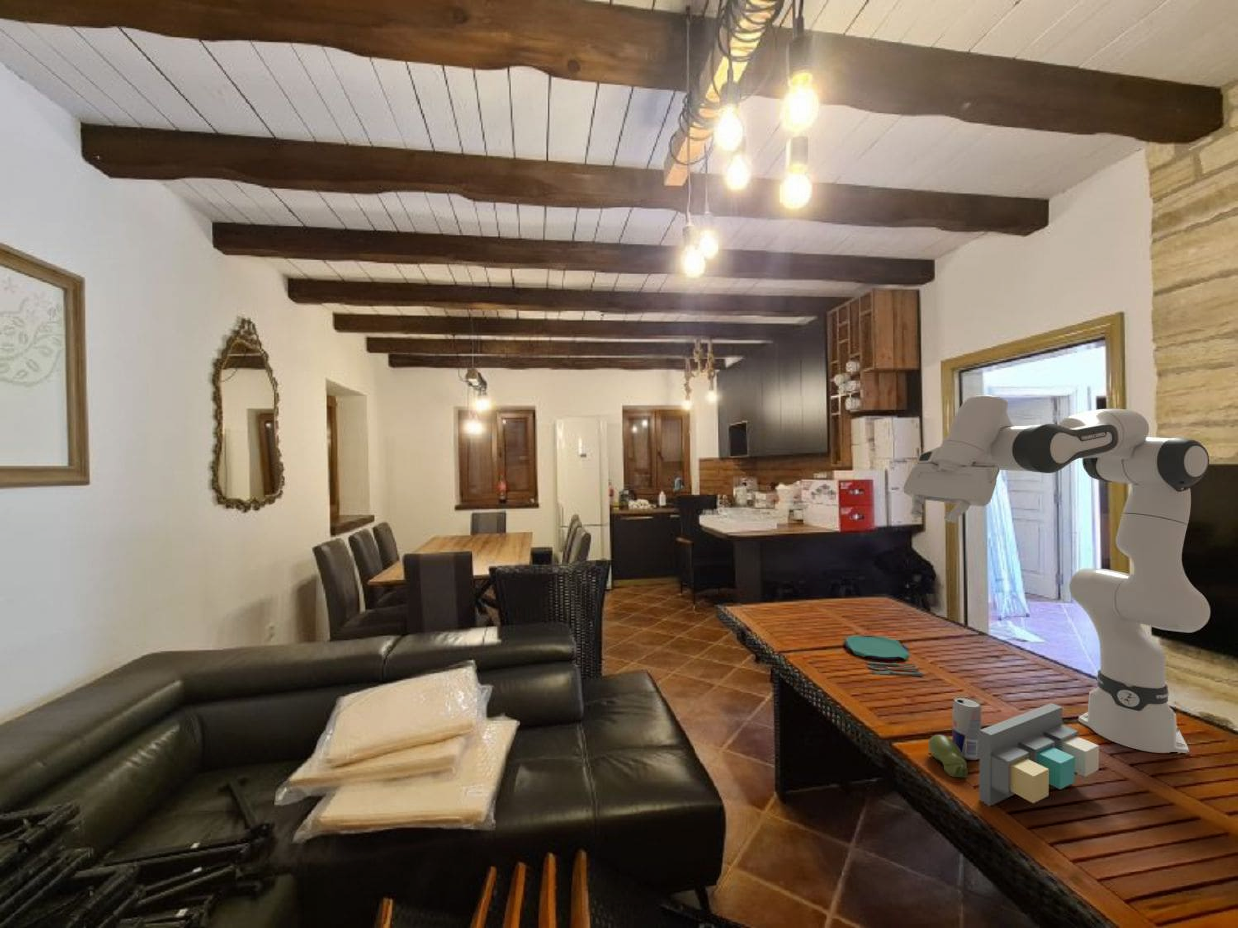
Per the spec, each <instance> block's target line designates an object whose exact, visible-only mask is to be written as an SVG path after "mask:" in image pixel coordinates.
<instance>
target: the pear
mask: <svg viewBox="0 0 1238 928" xmlns="http://www.w3.org/2000/svg"><path fill="white" fill-rule="evenodd" d="M928 749H929V752H930V753H931V756H932V757H933V758H935V759H936V760H937V761H939V762H941V763H942V765H943V770H944V772H945V773H946V774H947V775H949V776H950V777H951V776H952V777H953V778H961V779H962V778H963V779H965V778H968V775H969V769H968V768H967V766H968V764H967V762H966V759H964V758H962V754H961V751H960V749H959V747H958V746H957V745H956V744H955V743H954V742H953V739H951V738H950V737H949V736H946V735H944V734H935V735H932V737H930V739H929V741H928Z"/></svg>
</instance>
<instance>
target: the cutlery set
mask: <svg viewBox="0 0 1238 928" xmlns="http://www.w3.org/2000/svg"><path fill="white" fill-rule="evenodd" d="M844 645H845V647H846V648H847V649H848V650H849V651H852V652H853V654H854V655H856V656H859V657H862V658H865V657H866V658H867V657H868V658H872V659H878V660H880V659H881V660H896V659H897V660H898V659H903V660H904V662H905V661H907V660H908V659H909V658H910V657H911V656H910V650H909V648H908V647H907V646H905V645H904V644H903V643H901V642H900V641H899V640H896V639H892V638H889V637H886V636H875V635H859V634H858V635H856V634H853V635H850V636H848V637H845V638H844ZM865 663H866V665H868V668H870V669H872V670H871V673H872V674H873V675H885V676H890V675H899V676H906V677H907V676H909V677H911V676H914V677H915V676H916V677H917V676H918V677H924V673H923V672H919V671H920V669H919V668H918V667H916V665H915V664H901V663H897V662H893V663H892V662H890V663H887V662H875V661H873V662H871V661H868V662H865ZM888 666H890V667H888ZM894 666H895V667H894ZM899 666H904V667H899ZM878 668H880V669H878ZM893 670H904V671H914V672H901V671H900V672H899V671H893ZM915 671H916V672H915Z"/></svg>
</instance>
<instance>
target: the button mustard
mask: <svg viewBox="0 0 1238 928" xmlns="http://www.w3.org/2000/svg"><path fill="white" fill-rule="evenodd" d="M1049 788H1050V784H1049V769H1048V768H1046V767H1043V766H1041V765H1039V764H1037V763H1035V762H1033V761H1031V760H1029V759H1027V758H1023V759H1020V760H1018V761H1016V762H1014V763H1011V764H1010V791H1011V792H1013V793H1015V794H1014V795H1017V796H1019V797H1021V798H1023V799H1024V800H1026V801H1028V802H1030V803H1032V804H1035V803H1037V802H1039V801H1041V800H1043V799H1045V798H1047V797H1048V796H1050V795H1049V790H1050V789H1049Z"/></svg>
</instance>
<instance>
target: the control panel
mask: <svg viewBox="0 0 1238 928" xmlns="http://www.w3.org/2000/svg"><path fill="white" fill-rule="evenodd" d="M1062 723H1063V706H1060V705H1057V704H1055V703H1052V702H1050V703H1048V704H1045V705H1042V706H1040V707H1037V708H1035V709H1034V708H1033V709H1031V710H1029V711H1026V712H1024V713H1021V714H1018V715H1015V716H1013V717H1011V718H1007V719H1005V720H1003V721H1000V722H997V723H995V724H992V725H990V726H989V725H988V726H987V727H983V728H981V730H980V758H979V765H978V767H979V768H978V770H979V773H978V774H979V775H978V777H979V778H978V779H979V781H978V800H979V799H980V800H981V801H980V800H979V801H980V802H982V801H983V802H984V804H985V805H987V804H988V805H987V806H988V807H991V805H992V806H993V805H996V804H997V803H999V802H1002V801H1003V800H1006V799H1008V798H1010V797H1012V796H1015V795H1016V794H1015V793H1013V792H1011V791H1010V764H1011V763H1014V762H1016V761H1018V760H1020V759H1023V758H1027V759H1029V760H1031V761H1033V762H1035V763H1037V752H1039V751H1041V750H1043V749H1045V748H1048V747H1050V746H1051V747H1054V748H1056V749H1058V750H1060V751H1062V741H1063V740H1066V739H1068V738H1070V737H1072V736H1077V737H1079V738H1080V736H1079V733H1080V732H1079V730H1078V729H1075V728H1072V727H1070V726H1068V725H1065V724H1062ZM983 802H982V803H983Z"/></svg>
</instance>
